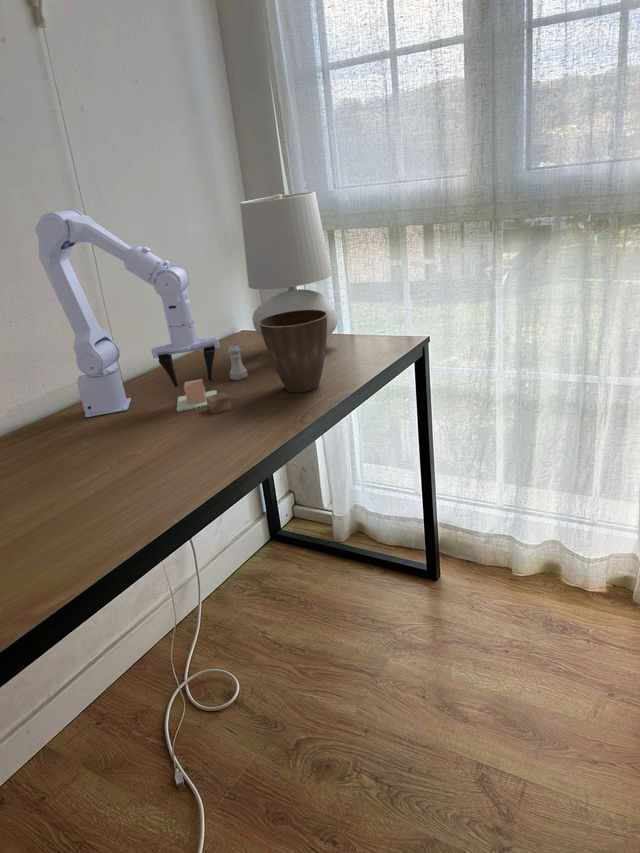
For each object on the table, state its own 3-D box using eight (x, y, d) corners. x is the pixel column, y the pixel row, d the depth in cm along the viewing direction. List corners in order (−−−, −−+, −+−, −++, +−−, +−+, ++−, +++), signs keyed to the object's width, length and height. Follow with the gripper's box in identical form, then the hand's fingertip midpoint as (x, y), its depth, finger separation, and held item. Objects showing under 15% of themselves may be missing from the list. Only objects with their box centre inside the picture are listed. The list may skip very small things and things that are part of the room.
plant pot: (296, 374, 160) (286, 308, 154) (348, 378, 152) (340, 309, 146) (257, 395, 149) (244, 325, 143) (311, 401, 141) (300, 327, 135)
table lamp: (244, 365, 174) (214, 205, 159) (273, 342, 193) (249, 196, 178) (328, 361, 167) (305, 193, 152) (350, 337, 185) (331, 185, 171)
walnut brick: (213, 414, 142) (211, 401, 141) (208, 409, 145) (205, 397, 144) (231, 409, 143) (228, 396, 142) (225, 405, 147) (223, 392, 146)
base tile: (177, 414, 147) (176, 409, 147) (179, 401, 155) (178, 396, 155) (218, 407, 148) (217, 402, 147) (217, 394, 156) (216, 390, 156)
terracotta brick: (187, 404, 149) (183, 387, 147) (188, 398, 152) (184, 382, 151) (205, 401, 149) (201, 384, 148) (206, 395, 153) (202, 378, 151)
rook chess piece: (251, 374, 165) (246, 343, 162) (242, 380, 161) (236, 348, 159) (236, 374, 167) (230, 343, 164) (226, 380, 163) (220, 349, 160)
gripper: (145, 333, 140) (159, 394, 145) (214, 322, 142) (225, 382, 147) (148, 326, 147) (161, 384, 152) (214, 315, 148) (225, 373, 153)
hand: (193, 383), depth 150 cm, fingers open, 7 cm apart
